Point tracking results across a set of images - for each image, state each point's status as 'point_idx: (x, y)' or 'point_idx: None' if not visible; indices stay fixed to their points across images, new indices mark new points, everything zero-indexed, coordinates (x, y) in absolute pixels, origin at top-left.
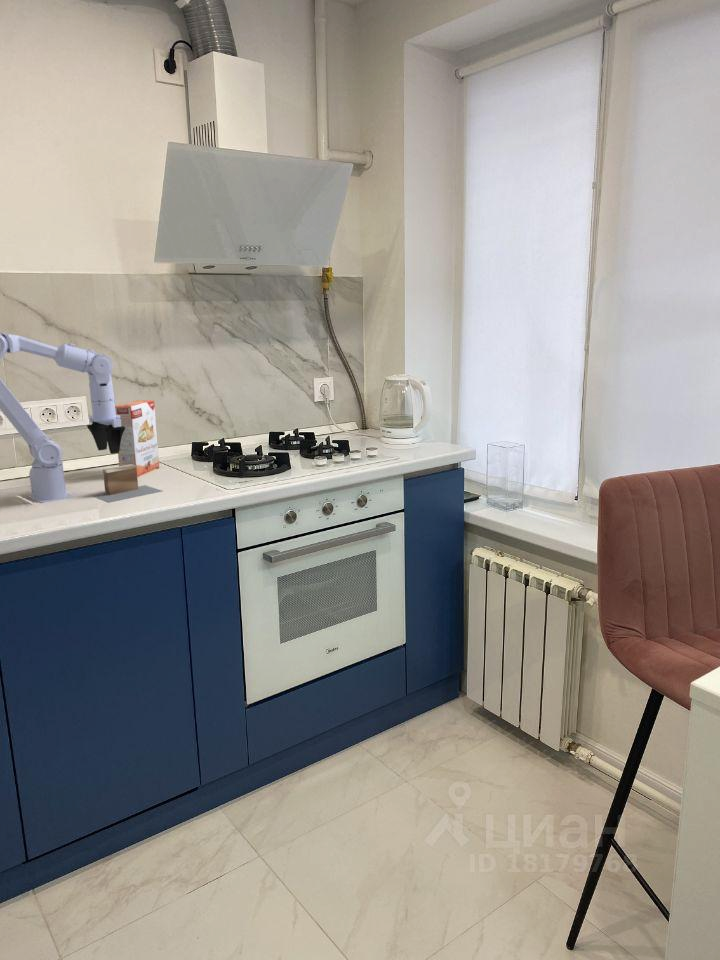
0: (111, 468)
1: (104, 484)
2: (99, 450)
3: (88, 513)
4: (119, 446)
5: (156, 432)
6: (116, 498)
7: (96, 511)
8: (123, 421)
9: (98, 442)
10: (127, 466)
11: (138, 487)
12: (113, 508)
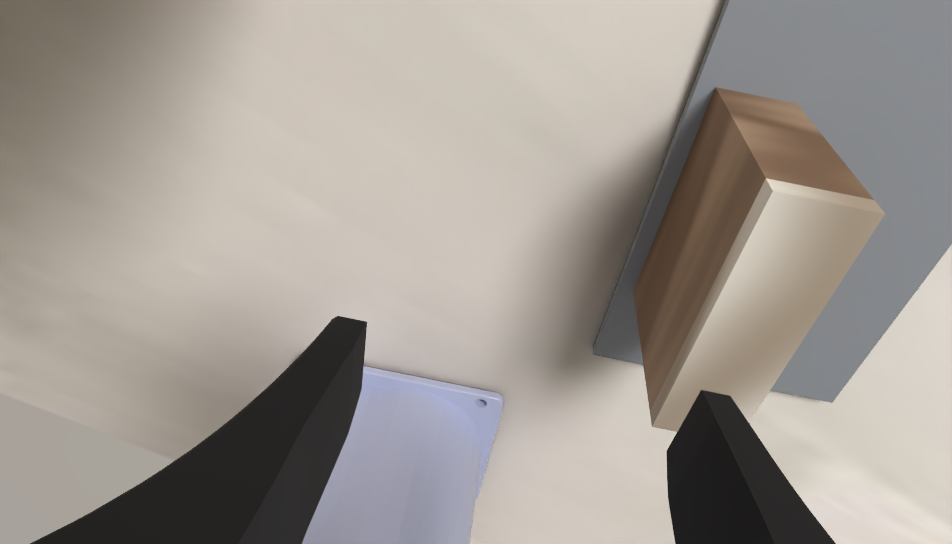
0: (707, 387)
1: (640, 335)
2: (360, 388)
3: (842, 510)
4: (769, 461)
5: None
6: (814, 336)
7: (860, 484)
8: None
9: (324, 469)
10: (811, 283)
11: (745, 56)
12: (923, 432)
